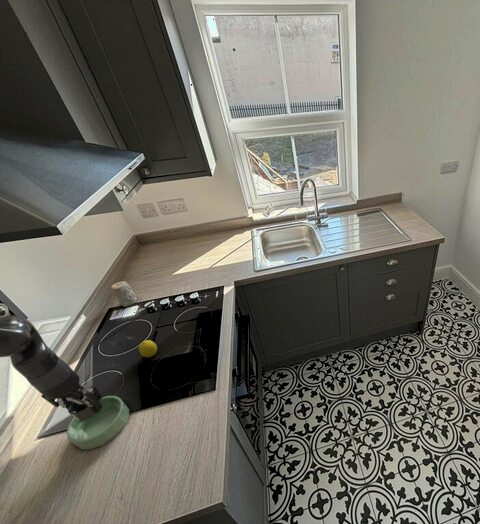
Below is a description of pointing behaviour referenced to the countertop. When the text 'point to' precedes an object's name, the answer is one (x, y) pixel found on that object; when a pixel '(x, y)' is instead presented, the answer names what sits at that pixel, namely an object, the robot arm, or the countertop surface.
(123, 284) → the carving
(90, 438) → the big bowl
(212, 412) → the countertop surface
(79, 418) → the small bowl
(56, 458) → the countertop surface
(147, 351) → the lemon
